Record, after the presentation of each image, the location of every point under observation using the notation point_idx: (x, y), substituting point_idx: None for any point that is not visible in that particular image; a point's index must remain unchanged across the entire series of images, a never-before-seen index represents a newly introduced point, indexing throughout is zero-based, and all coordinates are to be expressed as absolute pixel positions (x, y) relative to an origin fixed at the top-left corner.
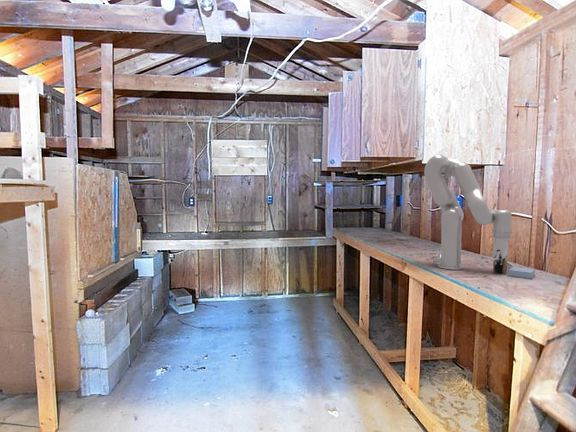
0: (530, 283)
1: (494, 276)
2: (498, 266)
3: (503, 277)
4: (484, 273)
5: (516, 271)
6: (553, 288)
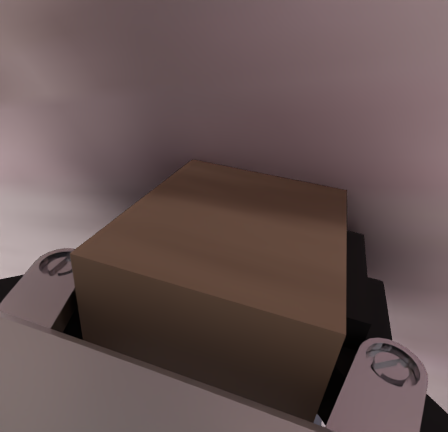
0: None
1: (13, 175)
2: None
3: (40, 249)
4: (71, 52)
5: None
6: None
